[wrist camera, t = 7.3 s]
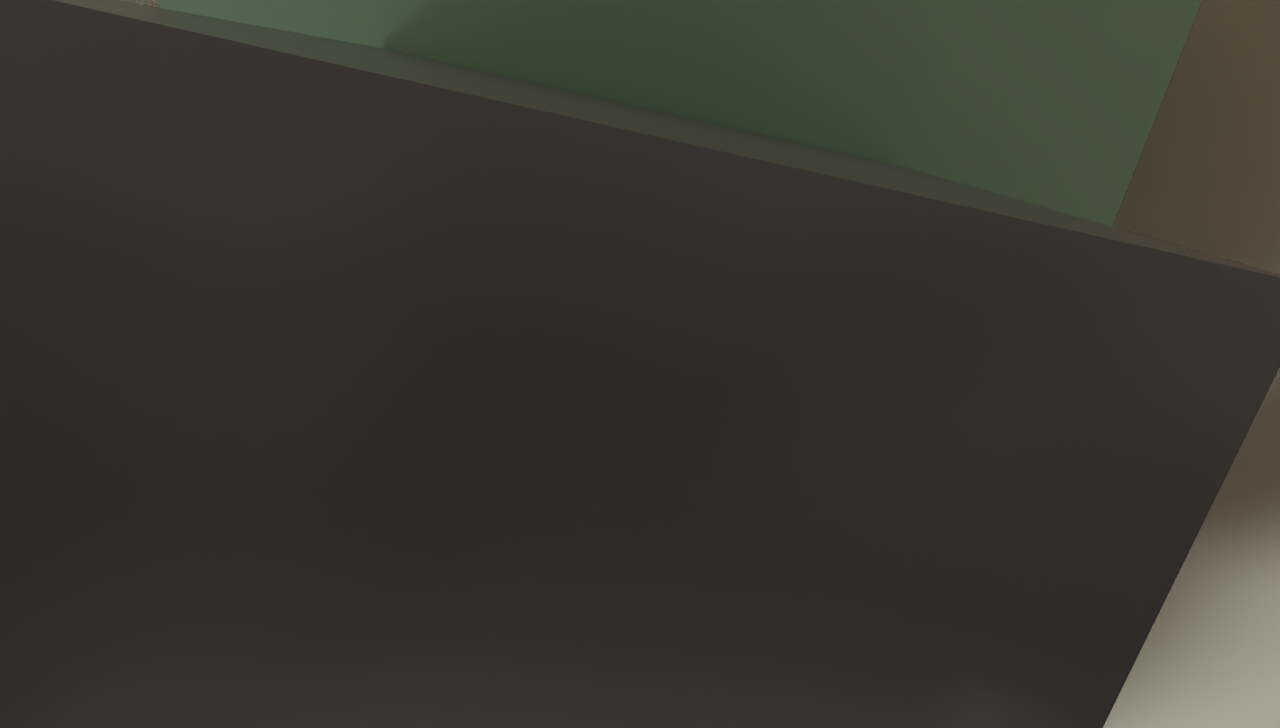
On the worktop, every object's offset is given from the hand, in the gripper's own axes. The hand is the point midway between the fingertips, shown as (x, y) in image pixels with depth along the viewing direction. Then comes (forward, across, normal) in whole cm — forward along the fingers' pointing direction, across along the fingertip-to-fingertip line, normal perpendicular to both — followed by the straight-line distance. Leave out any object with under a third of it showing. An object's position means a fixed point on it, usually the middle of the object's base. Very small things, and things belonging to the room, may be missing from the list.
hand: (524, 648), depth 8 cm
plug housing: (+1, 0, 0) cm, 1 cm away
